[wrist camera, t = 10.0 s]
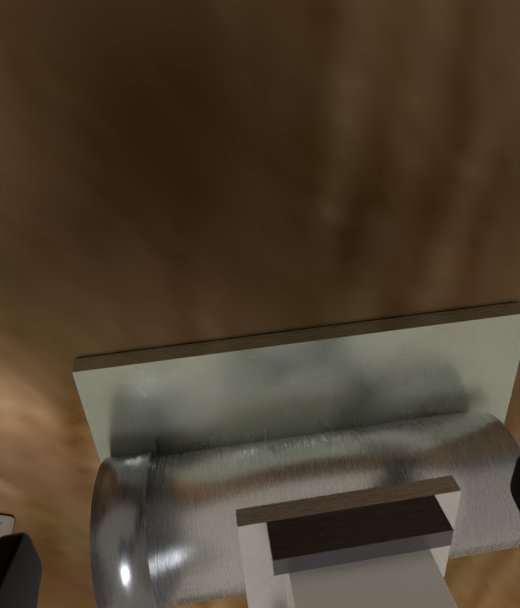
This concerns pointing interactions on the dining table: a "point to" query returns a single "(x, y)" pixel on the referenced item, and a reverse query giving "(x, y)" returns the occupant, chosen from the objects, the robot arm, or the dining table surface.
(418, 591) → the off-white cube
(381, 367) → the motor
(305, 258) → the dining table surface
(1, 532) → the supplement box
